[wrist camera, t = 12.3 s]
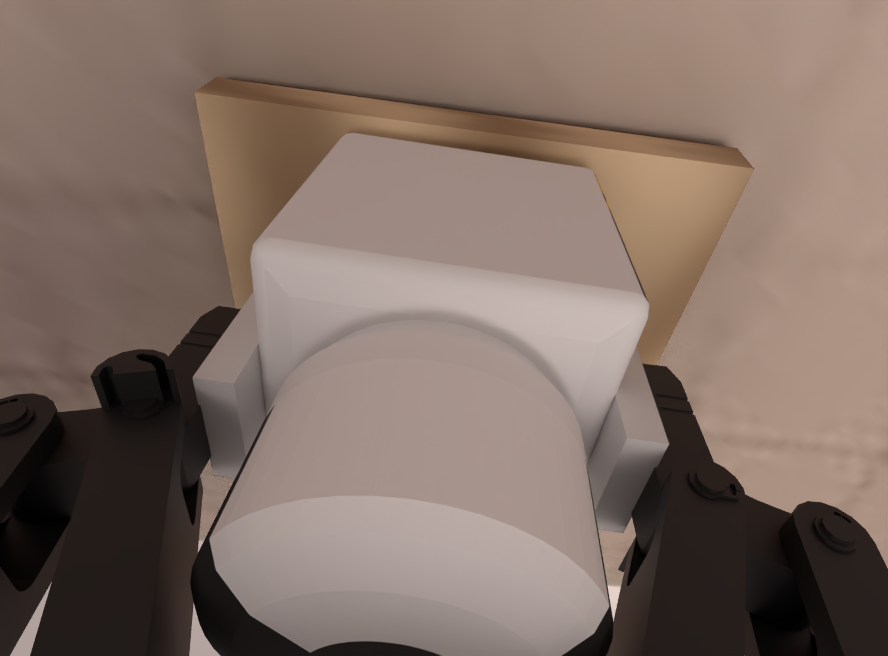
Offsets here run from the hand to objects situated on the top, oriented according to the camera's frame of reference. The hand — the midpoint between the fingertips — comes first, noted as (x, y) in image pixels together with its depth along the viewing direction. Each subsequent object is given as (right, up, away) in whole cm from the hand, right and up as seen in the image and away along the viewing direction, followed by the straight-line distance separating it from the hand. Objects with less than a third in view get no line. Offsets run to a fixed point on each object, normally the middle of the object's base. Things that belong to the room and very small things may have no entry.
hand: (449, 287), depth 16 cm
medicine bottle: (0, +1, +1) cm, 2 cm away
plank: (0, +2, +3) cm, 4 cm away
